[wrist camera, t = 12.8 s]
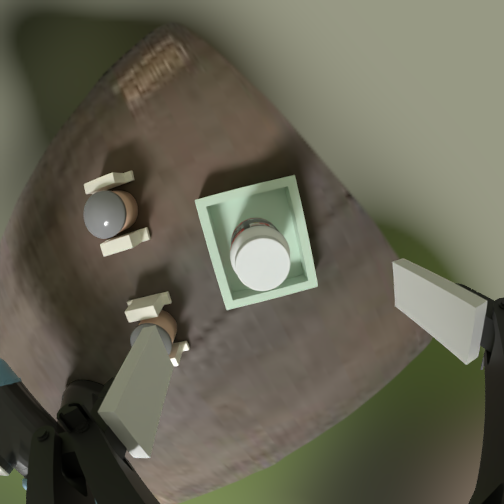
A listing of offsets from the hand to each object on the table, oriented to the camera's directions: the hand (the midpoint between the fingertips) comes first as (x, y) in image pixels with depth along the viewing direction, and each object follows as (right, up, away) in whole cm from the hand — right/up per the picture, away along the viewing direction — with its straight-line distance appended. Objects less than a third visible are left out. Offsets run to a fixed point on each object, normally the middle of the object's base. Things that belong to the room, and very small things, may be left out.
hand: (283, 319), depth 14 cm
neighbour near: (-18, +9, +18) cm, 27 cm away
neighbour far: (-14, -7, +22) cm, 27 cm away
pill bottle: (-1, +5, +19) cm, 20 cm away
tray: (-1, +5, +20) cm, 20 cm away
